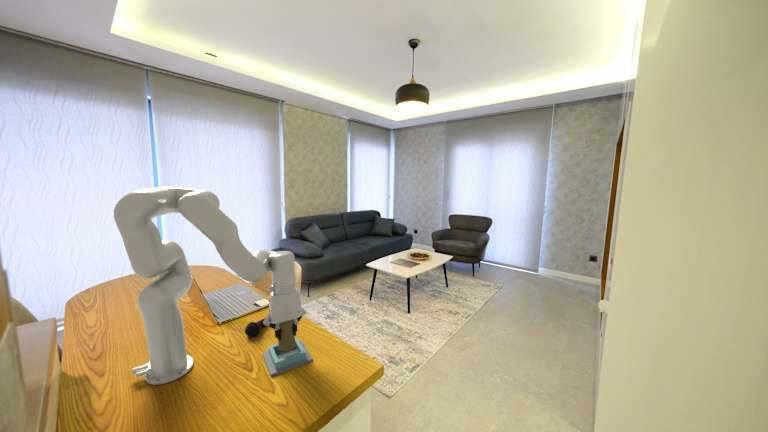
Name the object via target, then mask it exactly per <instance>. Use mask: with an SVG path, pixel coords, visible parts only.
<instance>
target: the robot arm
mask: <svg viewBox="0 0 768 432" xmlns="http://www.w3.org/2000/svg"><path fill="white" fill-rule="evenodd" d="M220 206H221V205H220V200H219V198H218V196H217V194H215V193H213V192H212V191H210V190H206V189H198V188H197V189H195V188H186V187H185V188H184V187H183V188H182V187H173V186H158V187H149V188H141V189H138V190H134V191H131V192H129V193H127V194H125V195H123V196H122V197H121V198H120V199H119V200H118V201H117V203H115V206H114V209H113V219H114V222H115V224H116V227H117V229H118V231H119V233H120V236H121V238H122V242H123V245H124V248H125V251H126V254H127V256H128V260H129V263H130V265H131V268H132V271H133V273H134V274H135V275H136V276H137V277H139V278H141V279H152V278H155V279H153V280H152V281H150V282H149V283H148V284H146V285H145V286H144V287H143V288H141V290H140V292H139V293H138V295H137V298H136V301H137V308H138V310H139V312H140V313H141V314H140V315H141V317H142V320H143V325H144V331H145V332H144V333H145V337H146V346H147V352H148V358H149V362H148V363H147V362H146V363H145V365H144V364H143V365H140V366H136V367H132V369H131V373H132V375H133V376H134V375H135V377H136V378H139V377H143V376H144V379H145V382H146V383H147V384H149V385H157V386H158V385H163V384H168V383H171V382H174V381H176V380H178V379H180V378H181V377H182V378H183V376H185V375H186V374H188V373H189V371H190V370H191V369H192V368H193V366H194V359H193V357H192V356H190V355H187V354H188V353H187V344H186V343H187V342H186V336H185V327H184V326H185V325H184V318H183V314H182V312H181V309H180V308H179V305H178V303H179V302H178V301H179V300H180V299H181V298H182V297H183V296H185V294H186V293H188V291H189V290H190V289H191V287H192V284H193V283H192V275H191V271H190V268H189V265H188V262H187V261H188V260H187V258H186V255H185V253H184V249H183V248H182V246H180V244H178V243H177V242H176V241H174V240H171V239H162V237H161V232H160V230H159V229H158V227H157V225H156V224H155V223H154V222H153V221H152V220H153V219H154V218H156V217H159V216H164V215H166V214H171V213H172V214H174V213H176V214H180V215H181V216H182V217H184V219H186V220H187V222H189V223H190V224H191V225H192V226H193V227H195V228H196V230H198V231H200V233H202V234H203V235H204V237H206V238H207V239H208V240H210V242H211V243H212V244H214V247H215V249H216V251H217V253H218V254H219V256H220V258H221V259H222V261H223V262H224V264H225V265H226V266H227V267H228V268H229V269H230V270H231V271H232V272H234V273H235V274H236V275H237V276H238V277H239V278H240V279H242V280H245V282H249V283H257V282H260V281H262V280H263V279H264V278H265V277H266V275H267V274H268V272H270V273H271V285H270V286H268V287H267V292H270V294H269V301H268V313H267V315H266V316H265V317H264V318H265V320H264V321H263V323H264V325H265V327H266V326H267V327H270V328H271V329H273V330H274V337H275V338H276V339H277V342H278V341H280V340H281V332H280V328H279V325H280V323H282V322H286V321H289V320H294V323H293V325H292V327H293V332H294V337H296V336H297V332H298V325H299V322H300V321H301V319H302V318H303V317H304V316H305V315H306V314H307V311H306V310H305V308H304V307H303V306H302V301H301V296H300V290H299V289H298V288H297V286H296V263H295V262H296V261H295V254H294V252H292V251H291V250H278V251H271V250H265V249H259V250H255V251H253V252H250V251H249V250H248V249H247V247H245V245H244V244H243V242H242V241H241V239H240V235H239V228H238V226H237V224H236V223H235V222H234V220H232V219H231V218H230V217H229V216H228V215H226V214H225V212H223V211H222V209H220ZM157 276H158V277H157ZM156 277H157V278H156ZM270 319H271V322H270Z"/></svg>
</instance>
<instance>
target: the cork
mask: <svg viewBox="0 0 768 432" xmlns="http://www.w3.org/2000/svg"><path fill="white" fill-rule="evenodd" d="M293 323H294V320H289V321H286V322H282V323H280V325H279V329H280V332H281V340H280V341H278V340H277V342H278V343H277V344H278V349H279V350H280V351H283V352H286V351H290V350H292V349H293V348H295V346H296V342H295V338H296V336H294V332H293V327H292V325H293Z"/></svg>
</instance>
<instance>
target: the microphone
mask: <svg viewBox="0 0 768 432" xmlns="http://www.w3.org/2000/svg"><path fill="white" fill-rule="evenodd" d="M265 318H266V317H264V318H261V319H260V320H258V321H256V322H255V321H251V322H248V323H247V325H246V327H245V329H244V332H245V335H246V336H248V337H251V338H253V337H256V336H258V335H259V333H260V330H262V329H264V328H265V327H266V325H264V323H263V321H264V320H265ZM270 322H271V319H270Z"/></svg>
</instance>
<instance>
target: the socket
mask: <svg viewBox="0 0 768 432" xmlns="http://www.w3.org/2000/svg"><path fill="white" fill-rule="evenodd" d="M295 342H296V346H295V348H293V349H292V350H290V351H286V352H283V351H280V350H279V349H278V343H276V344H272V345H269V346H268V350H266V351H263V352H262V357H263V359H264V363H265V365H266V367H267V371H268V373H269V376H270V378H271V377H274V376H278V375H280V374H283V373H285V372H288V371H291V370H293V369H295V368H298V367H300V366H303V365H305V364H308V363H311V362H313V361H314V360H313V357H312V355H311V354H310V352H309V351H308V348H307V347H306V345H305V344H304V342H303V340H302V339H300V340H299V339H298V337H295Z"/></svg>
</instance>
